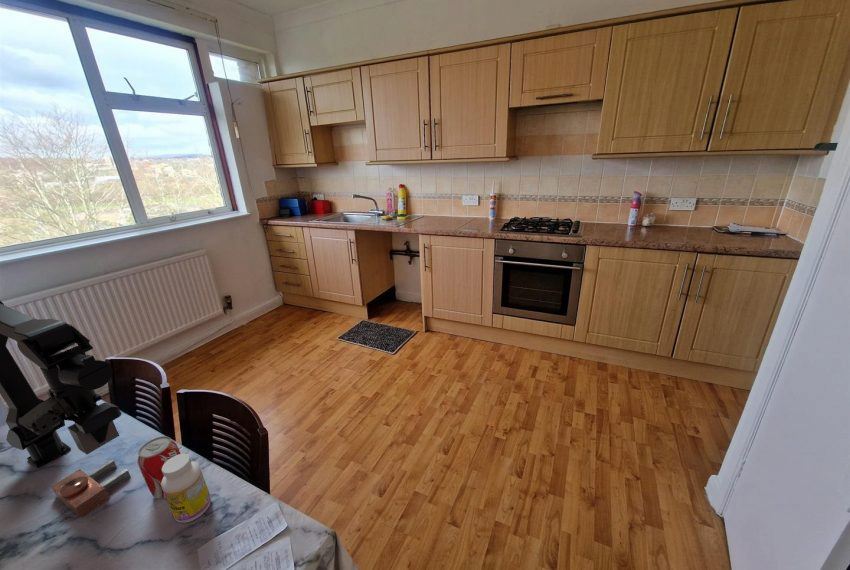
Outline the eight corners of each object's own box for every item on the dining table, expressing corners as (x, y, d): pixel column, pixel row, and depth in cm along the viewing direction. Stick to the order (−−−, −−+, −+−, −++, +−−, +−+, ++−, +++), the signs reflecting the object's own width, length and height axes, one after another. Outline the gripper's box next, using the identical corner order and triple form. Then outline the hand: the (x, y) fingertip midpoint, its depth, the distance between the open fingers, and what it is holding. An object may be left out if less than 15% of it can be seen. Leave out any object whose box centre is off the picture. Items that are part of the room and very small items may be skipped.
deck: (56, 496, 78) (48, 483, 76) (110, 462, 86) (104, 450, 85) (81, 518, 72) (73, 504, 71) (135, 480, 81) (129, 467, 79)
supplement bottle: (168, 517, 72) (147, 470, 67) (199, 490, 77) (182, 445, 73) (188, 529, 69) (168, 482, 65) (218, 501, 75) (202, 455, 70)
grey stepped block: (78, 448, 77) (65, 423, 75) (111, 430, 82) (99, 405, 80) (87, 454, 75) (73, 428, 73) (119, 435, 80) (107, 410, 78)
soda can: (171, 504, 74) (153, 461, 70) (144, 499, 76) (125, 457, 72) (197, 476, 81) (182, 435, 77) (172, 472, 82) (156, 432, 78)
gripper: (-4, 392, 70) (31, 451, 76) (33, 417, 62) (69, 482, 68) (68, 363, 80) (94, 418, 85) (108, 382, 71) (134, 441, 77)
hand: (97, 438), depth 78 cm, fingers closed on grey stepped block, 4 cm apart
